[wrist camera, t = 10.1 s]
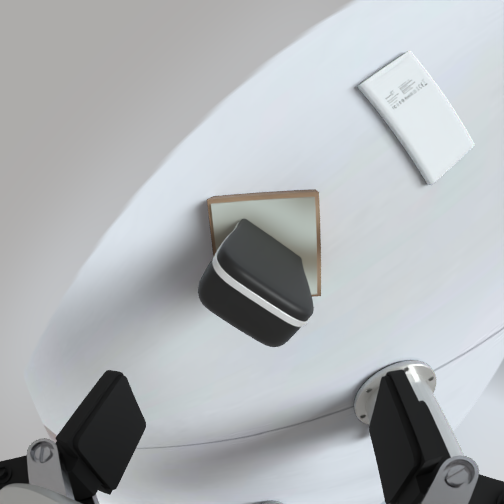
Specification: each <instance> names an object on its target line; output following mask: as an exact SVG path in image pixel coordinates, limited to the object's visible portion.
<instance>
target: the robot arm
mask: <svg viewBox="0 0 504 504" xmlns="http://www.w3.org/2000/svg"><path fill="white" fill-rule="evenodd" d="M435 387H436V376H435V373H434V371H433V370H432V368H431V367H430V366H429V365H428V364H426V363H424V362H421V361H412V360H410V361H403V362H399V363H396V364H393V365H391V366H388V367H386V368H384V369H382V370H381V371H379V372H377V373H376V374H375V375H373V376H372V377H371V378H369V379H368V380H367V381H366V382H365V383H364V384H363V386H362V387H361V388H360V389H359V391H358V393H357V395H356V397H355V400H354V409H355V413H356V416H357V418H358V419H359V420H360V421H361V422H363V423H365V424H367V425H370V426H369V431H370V436H371V440H372V444H373V448H374V452H375V456H376V461H377V465H378V470H379V474H380V479H381V483H382V488H383V493H384V498H385V502H386V504H504V482H503V481H499V480H496V479H492V478H489V477H486V476H483V475H480V474H479V469H478V466H477V464H476V462H475V461H473V460H472V459H471V458H469V457H467V456H464V455H463V452H462V450H461V448H460V446H459V443H458V441H457V439H456V437H455V435H454V433H453V431H452V429H451V427H450V425H449V423H448V421H447V419H446V417H445V415H444V413H443V411H442V409H441V407H440V405H439V404H438V402H437V400H436V398H435V396H434V394H433V392H434V390H435ZM145 428H146V422H145V419H144V417H143V415H142V413H141V411H140V408H139V406H138V404H137V402H136V399H135V397H134V395H133V392H132V390H131V387H130V385H129V382H128V380H127V378H126V377H125V376H124V375H123V373H121V372H118V371H111V370H107V371H106V372H105V373H104V374H103V376H102V377H101V378H100V379H99V381H98V382H97V383H96V385H95V386H94V387H93V389H92V390H91V391H90V392H89V394H88V395H87V396H86V398H85V399H84V400H83V402H82V403H81V404H80V406H79V407H78V408H77V410H76V411H75V412H74V414H73V415H72V416H71V418H70V419H69V420H68V422H67V423H66V424H65V426H64V427H63V429H62V430H61V431H60V433H59V434H58V435H57V437H56V440H57V442H56V443H54V442H53V441H52V440H50V439H45V438H44V439H39V440H36V441H35V442H33V443H32V444H31V445H30V446H29V448H28V450H27V455H26V456H22V457H19V458H14V459H10V460H5V461H1V462H0V504H99V502H98V499H97V496H96V492H97V490H99V491H101V492H104V493H107V494H111V492H112V490H114V489H116V488H117V486H118V484H119V482H120V480H121V478H122V476H123V474H124V472H125V469H126V467H127V465H128V463H129V461H130V459H131V457H132V455H133V453H134V451H135V449H136V447H137V445H138V443H139V441H140V439H141V436H142V434H143V432H144V430H145Z"/></svg>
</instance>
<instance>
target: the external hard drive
mask: <svg viewBox="0 0 504 504" xmlns="http://www.w3.org/2000/svg"><path fill="white" fill-rule="evenodd" d="M358 88H359V89H360V91H361V92H362V93H363V94H364V95H365V97H366V98H367V99H368V100H369V102H370V103H371V104H372V105H373V106H374V108H375V109H376V110H377V112H378V113H379V114H380V115H381V117H382V118H383V119H384V121H385V122H386V123H387V125H388V126H389V127H390V129H391V130H392V131H393V133H394V134H395V136H396V137H397V138H398V140H399V141H400V143H401V144H402V145H403V147H404V148H405V150H406V151H407V153H408V154H409V156H410V157H411V159H412V160H413V162H414V163H415V165H416V167H417V168H418V170H419V171H420V173H421V175H422V176H423V178H424V179H425V181H426V183H427V184H428V185H432V184H433V183H435V182H436V181H437V180H438V179H439V178H440V177H442V176H443V175H444V174H445V173H446V172H447V171H448V170H449V169H450V168H451V167H452V166H454V165H455V164H456V163H457V162H458V161H459V160H460V159H461V158H462V157H463V156H464V155H465V154H466V153H467V152H468V151H470V150H471V149H472V148H473V147H474V145H475V144H474V142H473V141H472V139H471V137H470V135H469V133H468V132H467V130H466V128H465V127H464V125H463V123H462V122H461V120H460V118H459V117H458V115H457V113H456V112H455V110H454V109H453V107H452V106H451V104H450V103H449V101H448V100H447V98H446V97H445V95H444V94H443V92H442V91H441V89H440V88H439V87H438V85H437V84H436V83H435V81H434V80H433V78H432V77H431V76H430V75H429V73H428V72H427V71H426V69H425V68H424V67H423V66H422V64H421V63H420V62H419V61H418V59H417V58H416V57H415V56H414V55H413V53H412V52H411V51H410V50H409V51H407V52H406V53H404V54H403V55H402V56H400V57H399V58H397V59H396V60H394V61H393V62H391V63H390V64H388V65H387V66H385V67H384V68H382V69H381V70H380V71H378V72H377V73H375V74H374V75H372V76H371V77H370V78H368V79H367V80H365V81H364V82H363V83H361V84H360V85H359V86H358Z"/></svg>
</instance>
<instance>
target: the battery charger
mask: <svg viewBox="0 0 504 504" xmlns="http://www.w3.org/2000/svg"><path fill="white" fill-rule="evenodd" d="M198 294H199V298H200V300H201V302H202V304H203V305H204V306H205V307H206V308H207V309H209V310H210V311H211V312H213V313H214V314H216V315H217V316H219V317H220V318H222V319H223V320H225V321H226V322H228V323H229V324H231V325H232V326H234V327H235V328H237V329H239V330H240V331H242V332H244V333H245V334H247V335H249V336H250V337H252V338H254V339H255V340H257V341H259V342H261V343H263V344H264V345H267V346H270V347H278V346H281V345H283V344H285V343H286V342H287V341H288V340H289V339H290V338H291V337H292V336H293V335H294V334H295V333H296V332H297V331H298V330H299V329H300V327H303V326H305V325H306V323H307V322H308V321H309V319H310V316H311V315H312V314H313V301H312V296H311V292H310V288H309V284H308V281H307V278H306V275H305V272H304V268H303V263H302V259H301V257H300V256H298V255H297V254H295V253H294V252H293V251H291V250H290V249H289V248H287V247H286V246H284V245H283V244H281V243H280V242H279V241H277V240H276V239H274V238H273V237H272V236H270V235H269V234H267V233H266V232H264V231H263V230H261V229H260V228H259V227H257V226H256V225H254V224H253V223H251V222H250V221H248V220H247V219H242V220H241V221H240V222H238V223H237V225H236V226H235V228H234V230H233V231H232V232H231V233H230V234H229V235H228V236H227V237H226V239H225V240H224V241H223V242H222V244H221V245H220V247H219V248H218V250H217V252H216V253H215V255H214V257H213V259H212V261H211V262H210V264H209V265H208V267H207V269H206V271H205V272H204V274H203V276H202V278H201V280H200V283H199V287H198Z"/></svg>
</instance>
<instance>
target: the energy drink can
mask: <svg viewBox="0 0 504 504" xmlns="http://www.w3.org/2000/svg"><path fill="white" fill-rule="evenodd" d="M262 504H283V503H281V502H278V501H266V502H263V503H262Z"/></svg>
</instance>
